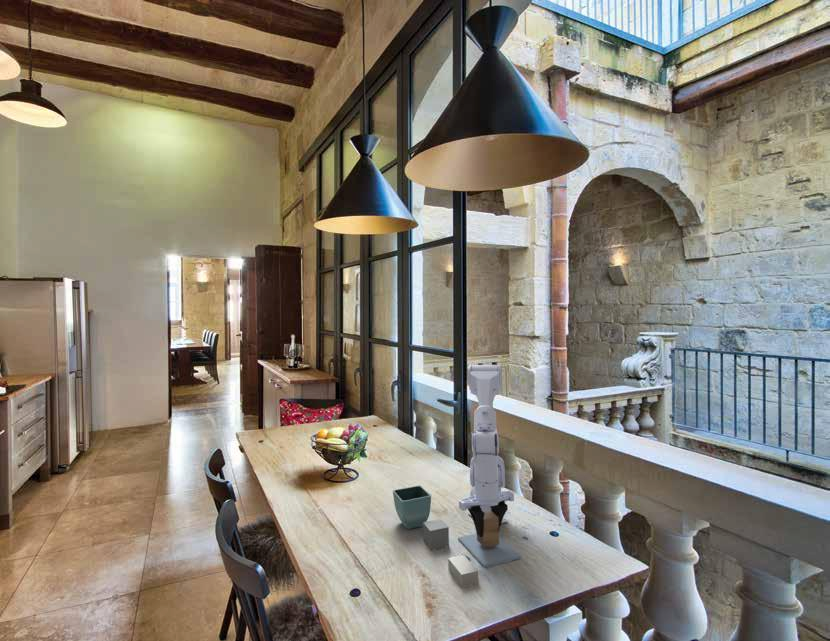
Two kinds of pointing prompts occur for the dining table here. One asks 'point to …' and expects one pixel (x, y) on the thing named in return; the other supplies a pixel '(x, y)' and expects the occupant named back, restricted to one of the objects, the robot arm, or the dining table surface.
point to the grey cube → (436, 534)
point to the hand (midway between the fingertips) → (487, 533)
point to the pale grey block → (463, 570)
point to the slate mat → (489, 551)
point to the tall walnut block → (489, 530)
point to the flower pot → (412, 505)
